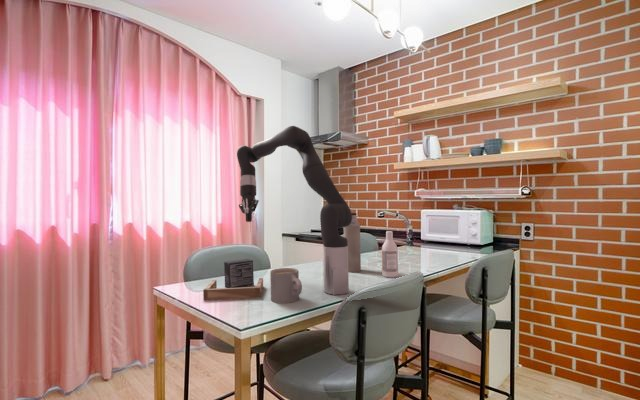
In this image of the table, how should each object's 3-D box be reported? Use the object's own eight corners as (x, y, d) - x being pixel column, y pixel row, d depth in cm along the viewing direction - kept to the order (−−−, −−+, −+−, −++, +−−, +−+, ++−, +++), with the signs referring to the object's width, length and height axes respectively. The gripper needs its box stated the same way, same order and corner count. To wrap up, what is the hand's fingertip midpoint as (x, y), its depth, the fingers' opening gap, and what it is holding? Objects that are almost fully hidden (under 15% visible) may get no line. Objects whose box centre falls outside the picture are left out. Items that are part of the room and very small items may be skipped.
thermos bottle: (344, 268, 175) (343, 212, 175) (360, 268, 174) (359, 212, 174) (344, 272, 167) (342, 213, 167) (360, 272, 166) (359, 213, 166)
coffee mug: (266, 298, 126) (265, 270, 126) (290, 293, 131) (290, 266, 131) (283, 307, 115) (282, 276, 115) (309, 301, 120) (308, 272, 120)
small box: (248, 282, 151) (247, 258, 150) (254, 285, 145) (253, 260, 145) (224, 286, 145) (223, 260, 145) (229, 289, 139) (229, 263, 139)
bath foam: (384, 273, 162) (383, 230, 162) (399, 275, 159) (398, 230, 159) (380, 277, 155) (379, 231, 155) (396, 278, 152) (395, 232, 152)
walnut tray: (212, 288, 141) (212, 280, 141) (263, 286, 142) (262, 278, 142) (203, 299, 125) (203, 290, 125) (260, 297, 127) (259, 287, 127)
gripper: (263, 184, 166) (264, 220, 162) (246, 190, 175) (246, 224, 170) (250, 181, 161) (250, 218, 156) (233, 188, 169) (233, 223, 165)
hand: (248, 221), depth 163 cm, fingers closed
